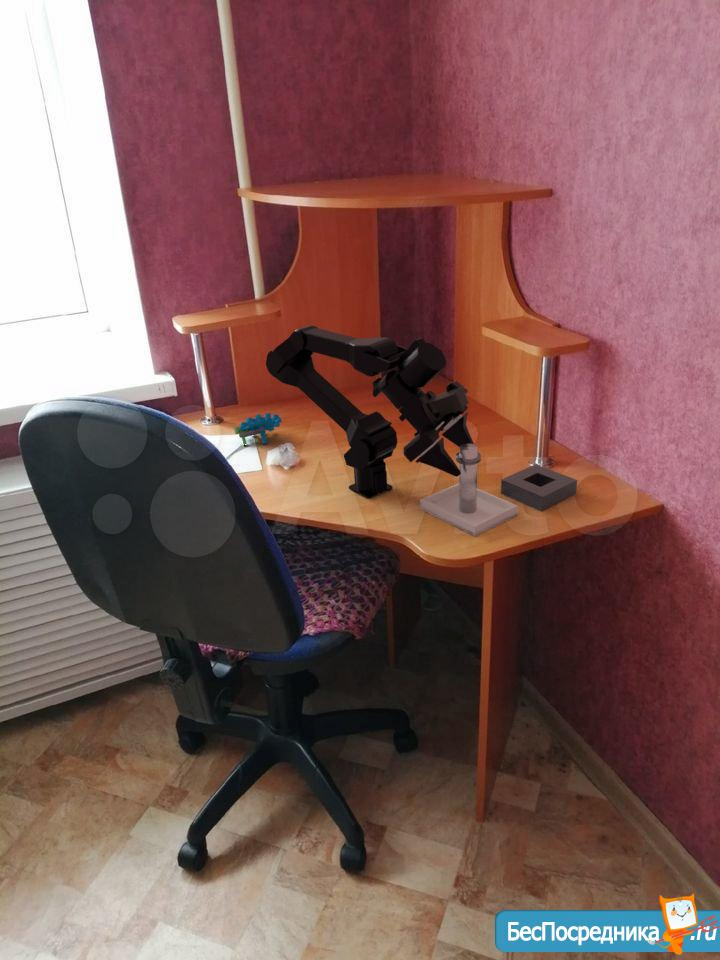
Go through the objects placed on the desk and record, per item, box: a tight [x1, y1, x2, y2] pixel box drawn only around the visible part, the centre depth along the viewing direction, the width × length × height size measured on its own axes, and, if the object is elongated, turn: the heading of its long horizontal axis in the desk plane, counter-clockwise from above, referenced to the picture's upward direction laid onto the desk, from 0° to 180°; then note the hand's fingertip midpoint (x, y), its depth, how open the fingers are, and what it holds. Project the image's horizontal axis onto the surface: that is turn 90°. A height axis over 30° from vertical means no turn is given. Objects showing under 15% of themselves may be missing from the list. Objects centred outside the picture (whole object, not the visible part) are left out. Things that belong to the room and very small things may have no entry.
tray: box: [419, 482, 518, 537], centre depth 139 cm, size 14×11×2 cm
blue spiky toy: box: [233, 412, 283, 446], centre depth 174 cm, size 11×6×10 cm
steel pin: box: [455, 443, 482, 514], centre depth 136 cm, size 4×4×12 cm
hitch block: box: [500, 463, 578, 512], centre depth 144 cm, size 10×10×3 cm
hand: (467, 464), depth 135 cm, fingers open, 9 cm apart
